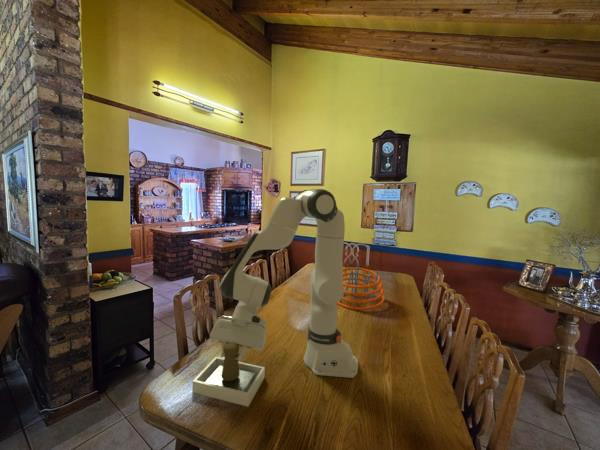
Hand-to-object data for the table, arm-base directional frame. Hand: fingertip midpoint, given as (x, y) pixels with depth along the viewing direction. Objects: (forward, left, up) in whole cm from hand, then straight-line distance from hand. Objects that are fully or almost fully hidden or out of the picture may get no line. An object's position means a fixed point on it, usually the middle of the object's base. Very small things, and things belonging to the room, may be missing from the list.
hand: (230, 358), depth 89 cm
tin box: (0, -1, -10) cm, 10 cm away
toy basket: (-42, -99, -11) cm, 108 cm away
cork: (0, -1, -6) cm, 6 cm away
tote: (0, -1, -11) cm, 11 cm away
